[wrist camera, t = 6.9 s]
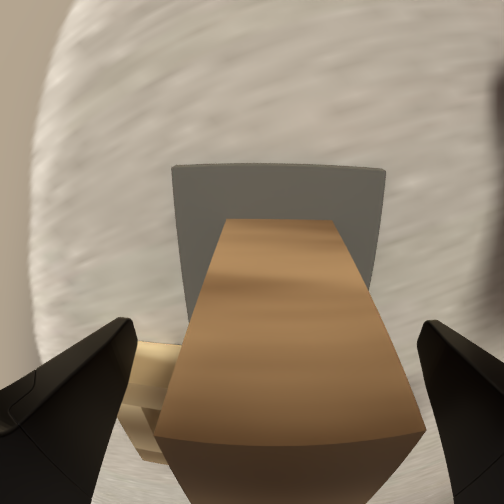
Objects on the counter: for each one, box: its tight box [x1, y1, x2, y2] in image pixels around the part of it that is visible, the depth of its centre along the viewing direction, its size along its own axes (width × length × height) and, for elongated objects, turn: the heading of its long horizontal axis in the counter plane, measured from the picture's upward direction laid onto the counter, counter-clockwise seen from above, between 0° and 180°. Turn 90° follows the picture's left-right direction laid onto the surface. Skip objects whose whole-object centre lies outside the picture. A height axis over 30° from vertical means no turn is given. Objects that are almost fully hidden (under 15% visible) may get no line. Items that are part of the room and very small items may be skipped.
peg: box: [153, 219, 426, 504], centre depth 9 cm, size 4×4×9 cm
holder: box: [117, 341, 182, 465], centre depth 16 cm, size 9×9×3 cm
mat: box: [171, 163, 386, 323], centre depth 13 cm, size 8×8×1 cm
